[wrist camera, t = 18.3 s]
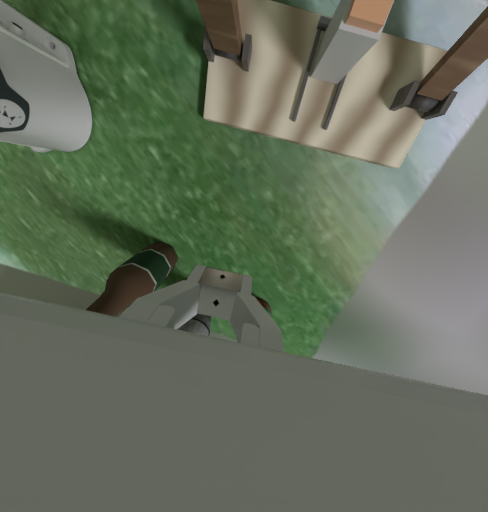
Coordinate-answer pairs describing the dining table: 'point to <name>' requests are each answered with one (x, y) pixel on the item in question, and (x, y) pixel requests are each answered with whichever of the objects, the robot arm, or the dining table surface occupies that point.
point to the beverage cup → (197, 325)
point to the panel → (319, 87)
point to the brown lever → (223, 27)
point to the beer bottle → (135, 279)
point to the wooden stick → (454, 66)
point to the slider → (349, 37)
